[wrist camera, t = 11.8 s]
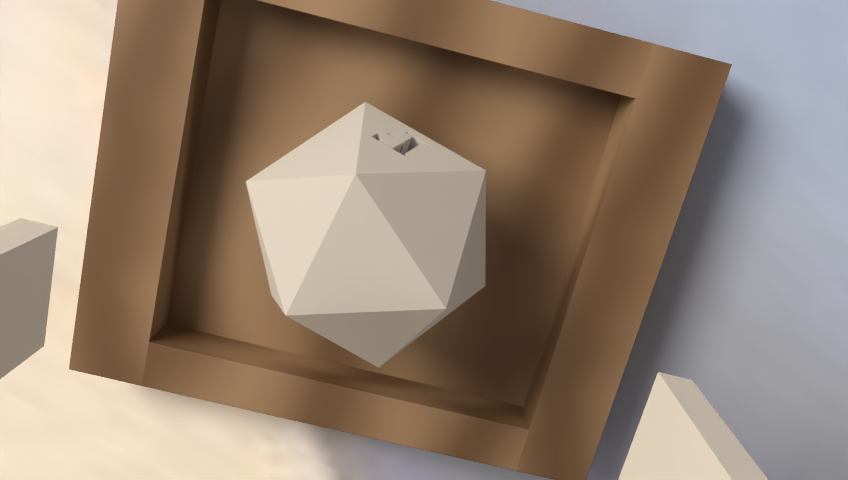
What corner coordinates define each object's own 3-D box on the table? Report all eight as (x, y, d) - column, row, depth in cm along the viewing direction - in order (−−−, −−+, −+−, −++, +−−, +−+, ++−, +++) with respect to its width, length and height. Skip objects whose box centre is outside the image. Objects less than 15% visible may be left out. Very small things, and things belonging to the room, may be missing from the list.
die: (519, 250, 30) (548, 133, 21) (405, 421, 28) (384, 369, 19) (365, 159, 32) (332, 17, 23) (244, 310, 30) (157, 215, 21)
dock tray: (701, 63, 29) (732, 64, 26) (570, 448, 33) (583, 485, 30) (162, -80, 27) (130, -95, 25) (101, 340, 32) (69, 369, 29)
